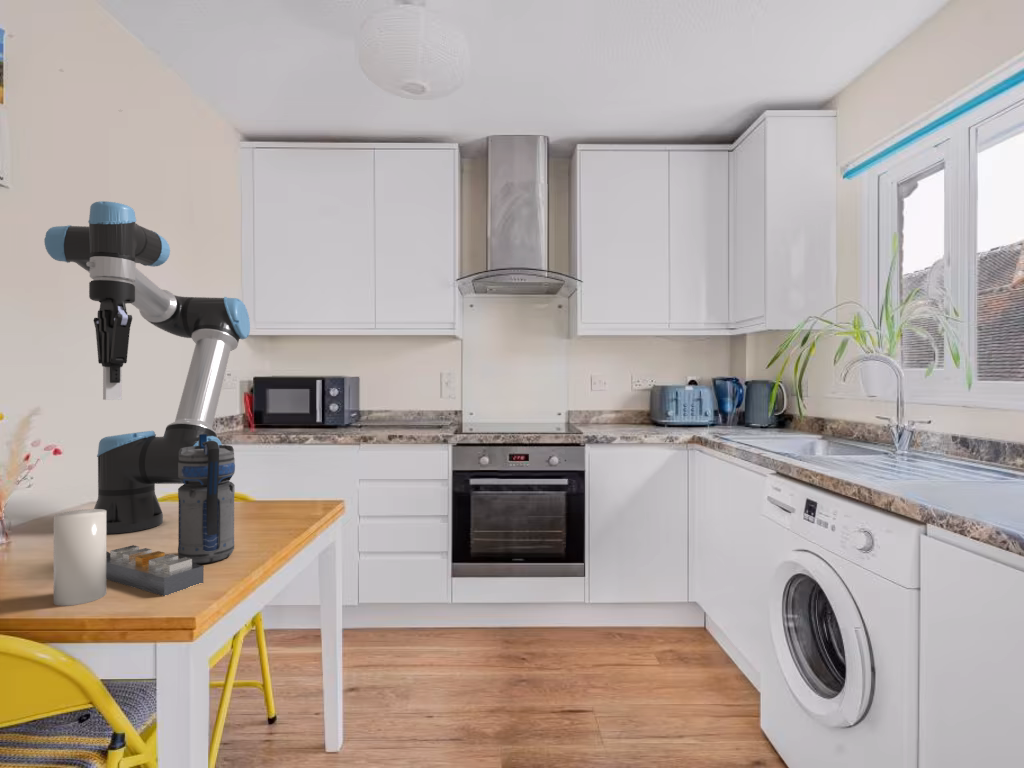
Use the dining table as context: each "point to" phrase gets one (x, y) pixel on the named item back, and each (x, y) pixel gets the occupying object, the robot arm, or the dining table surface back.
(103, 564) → the white glossy cylinder
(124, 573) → the grey long block
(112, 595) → the dining table surface
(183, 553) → the beverage bottle
